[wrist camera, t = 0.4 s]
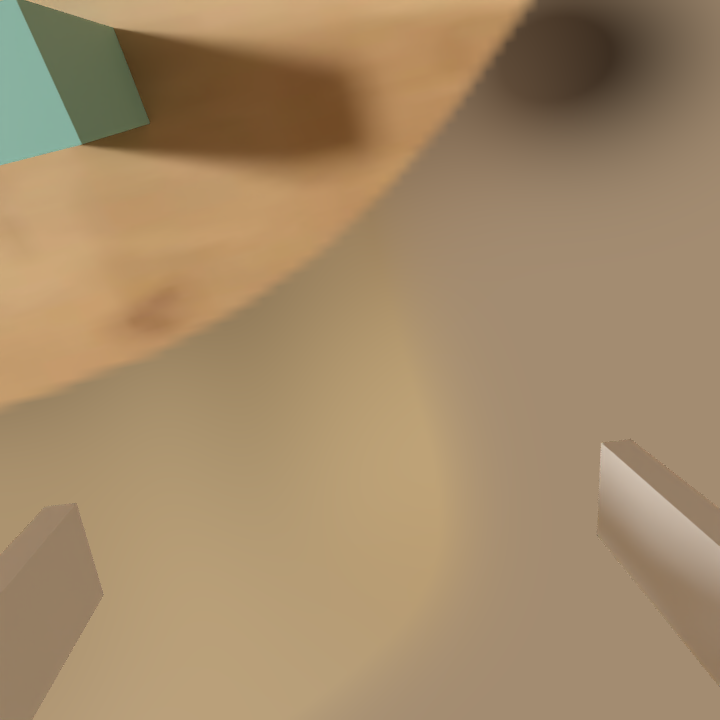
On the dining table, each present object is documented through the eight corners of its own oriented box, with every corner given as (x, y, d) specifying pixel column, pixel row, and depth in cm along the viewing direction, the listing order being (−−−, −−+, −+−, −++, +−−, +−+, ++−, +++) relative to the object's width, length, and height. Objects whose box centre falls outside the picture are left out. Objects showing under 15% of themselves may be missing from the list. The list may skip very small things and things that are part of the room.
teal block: (26, 49, 29) (-122, 31, 18) (113, 28, 29) (14, -3, 18) (70, 143, 31) (-39, 174, 21) (150, 123, 31) (82, 144, 21)
